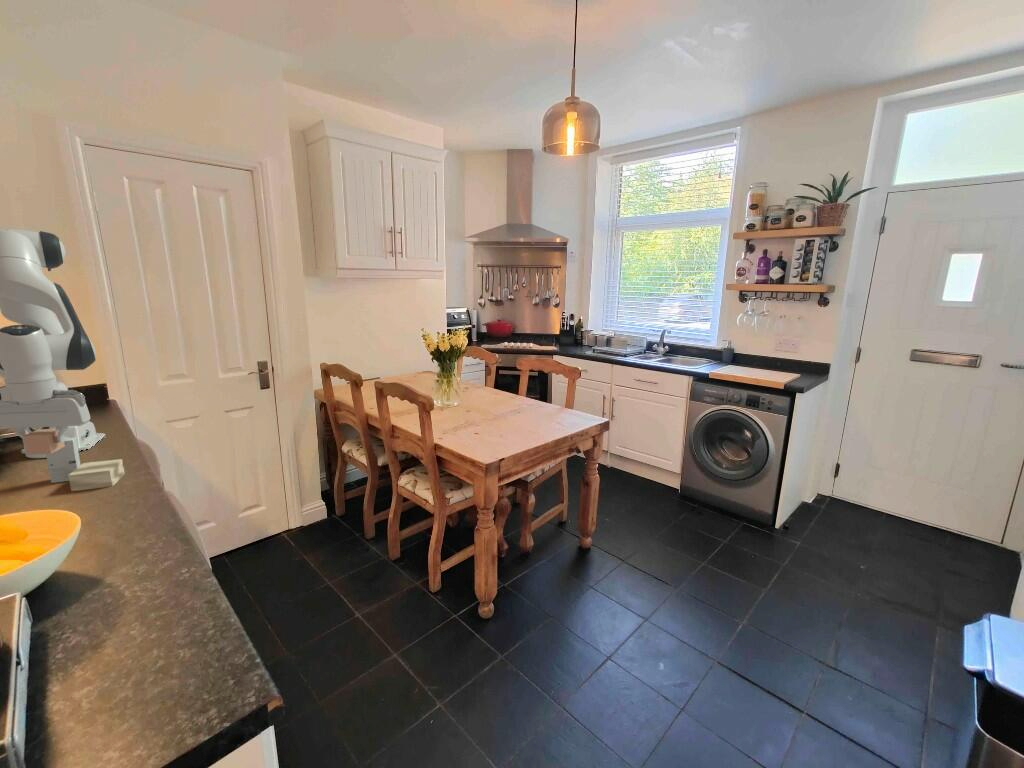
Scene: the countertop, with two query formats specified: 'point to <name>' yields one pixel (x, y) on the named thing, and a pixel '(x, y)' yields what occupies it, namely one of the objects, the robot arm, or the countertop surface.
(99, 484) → the birch block
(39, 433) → the terracotta cube
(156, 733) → the countertop surface
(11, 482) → the countertop surface
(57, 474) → the skincare box
